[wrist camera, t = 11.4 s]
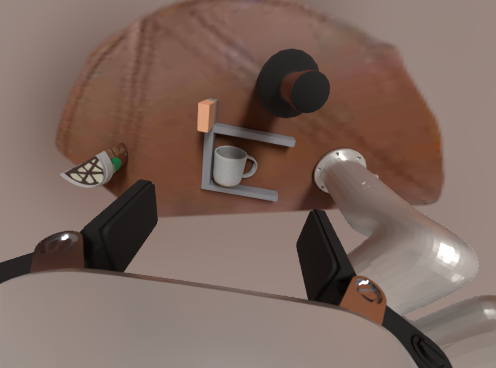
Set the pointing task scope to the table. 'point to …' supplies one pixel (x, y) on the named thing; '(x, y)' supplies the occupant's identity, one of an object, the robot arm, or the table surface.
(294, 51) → the wine bottle
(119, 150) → the food container
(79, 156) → the table surface
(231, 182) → the ceramic mug
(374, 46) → the table surface
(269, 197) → the pull frame
